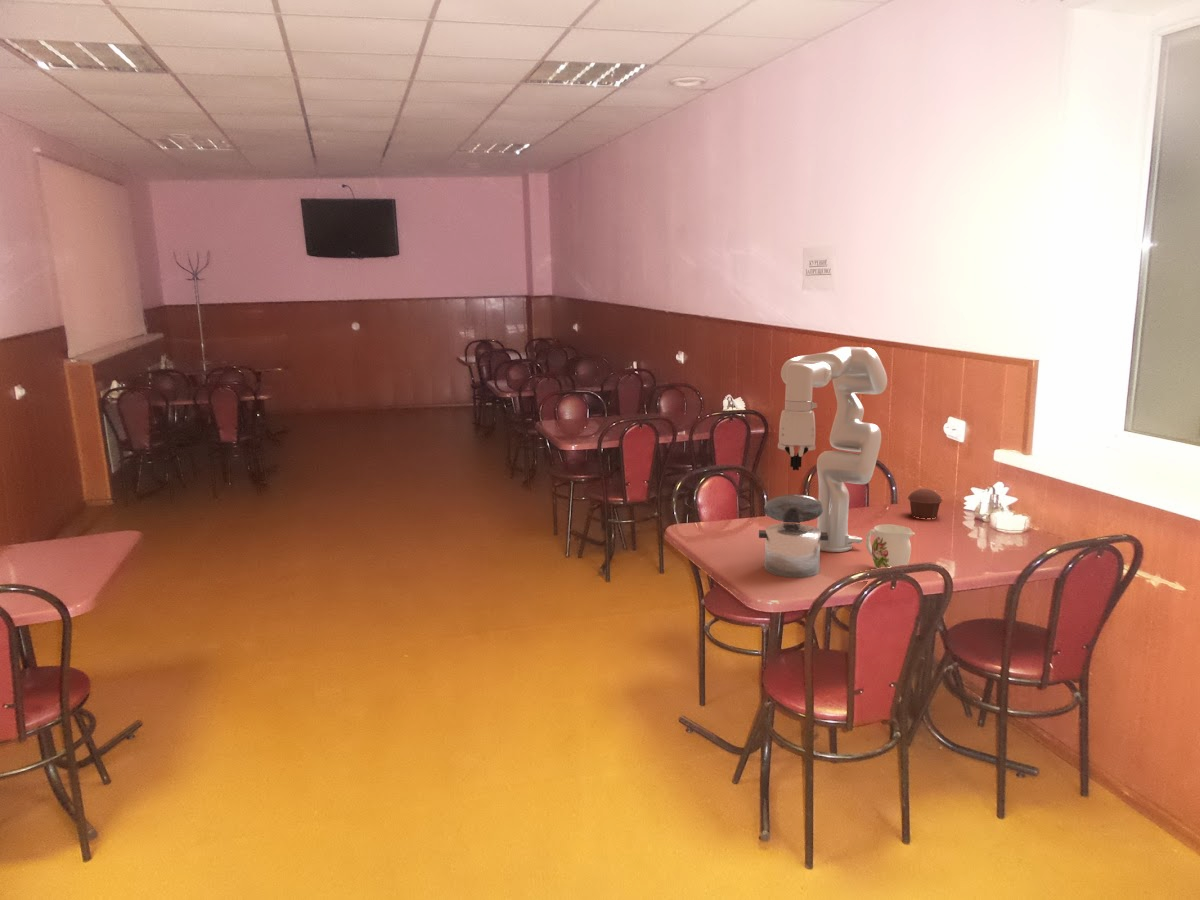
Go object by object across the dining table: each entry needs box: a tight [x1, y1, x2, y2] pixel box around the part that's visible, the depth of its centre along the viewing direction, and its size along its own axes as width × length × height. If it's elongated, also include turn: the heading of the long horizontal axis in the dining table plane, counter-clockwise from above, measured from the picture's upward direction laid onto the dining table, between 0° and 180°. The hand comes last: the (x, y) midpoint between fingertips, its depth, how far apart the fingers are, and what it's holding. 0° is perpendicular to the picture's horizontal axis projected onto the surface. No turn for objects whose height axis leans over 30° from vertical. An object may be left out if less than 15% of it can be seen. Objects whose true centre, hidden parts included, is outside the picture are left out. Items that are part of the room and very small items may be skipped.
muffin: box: [907, 488, 943, 519], centre depth 314 cm, size 12×11×10 cm
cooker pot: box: [758, 522, 828, 579], centre depth 258 cm, size 20×17×12 cm
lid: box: [764, 494, 823, 524], centre depth 258 cm, size 18×17×3 cm
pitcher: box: [865, 523, 916, 569], centre depth 255 cm, size 11×18×14 cm, turn 27°
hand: (795, 469), depth 250 cm, fingers closed
